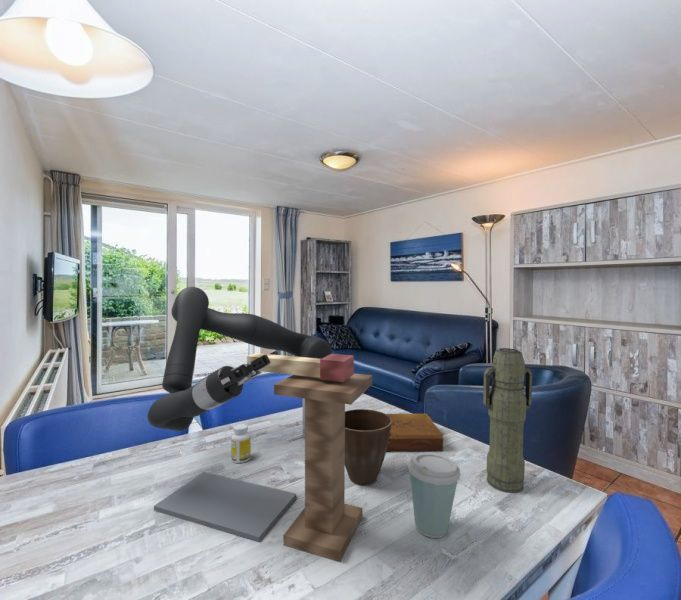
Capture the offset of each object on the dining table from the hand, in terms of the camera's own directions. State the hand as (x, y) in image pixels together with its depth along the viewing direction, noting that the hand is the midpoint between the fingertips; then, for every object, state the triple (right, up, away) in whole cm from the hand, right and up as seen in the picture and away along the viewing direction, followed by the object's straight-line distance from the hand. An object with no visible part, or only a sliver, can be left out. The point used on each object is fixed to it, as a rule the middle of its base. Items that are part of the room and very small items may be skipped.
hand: (272, 356), depth 79 cm
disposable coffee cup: (+34, -36, -2) cm, 50 cm away
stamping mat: (-12, -35, +6) cm, 38 cm away
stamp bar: (+6, -3, -2) cm, 7 cm away
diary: (+35, -35, +42) cm, 64 cm away
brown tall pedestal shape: (+12, -36, -3) cm, 38 cm away
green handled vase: (+57, -36, +15) cm, 69 cm away
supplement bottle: (-14, -35, +28) cm, 47 cm away
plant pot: (+21, -35, +18) cm, 45 cm away
